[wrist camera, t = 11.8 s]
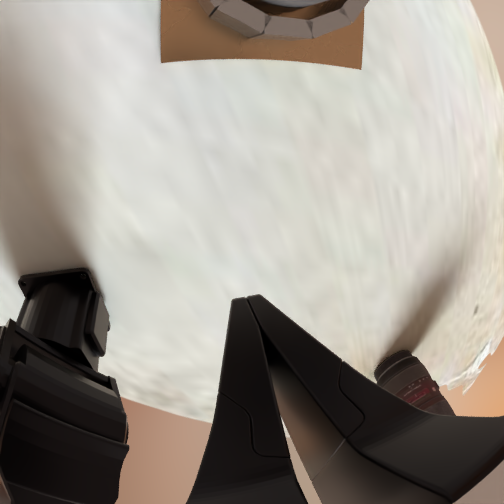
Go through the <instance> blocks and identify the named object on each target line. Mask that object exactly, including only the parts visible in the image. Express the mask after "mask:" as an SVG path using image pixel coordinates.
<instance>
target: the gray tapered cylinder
mask: <svg viewBox="0 0 504 504" xmlns="http://www.w3.org/2000/svg"><path fill="white" fill-rule="evenodd" d="M242 1H244V2H246V3H248V4H249V5H251V6H253V7H255V8H257V9H258V10H262V11H266V12H272V13H286V12H292V11H296V10H299V9H302V8H305V7H308V6H311V5H314V4H318V3H321V2H324V1H328V0H242Z"/></svg>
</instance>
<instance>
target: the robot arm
mask: <svg viewBox="0 0 504 504" xmlns="http://www.w3.org/2000/svg"><path fill="white" fill-rule="evenodd" d="M82 274H85V275H86V276H83V275H82ZM24 282H25V283H24ZM18 284H19V286H20V288H21V290H22V292H23V294H24V296H25V300H24V303H23V305H22V308H21V311H20V313H19V316H18V319H17V321H16V322H15V321H13V320H12V319H11V318H10V319H9V320H8V322H7V324H6V325H5V326H0V504H115V502H116V500H117V499H118V492H119V479H120V472H121V468H122V465H123V461H124V459H125V457H126V454H127V453H128V451H129V445H127V444H126V443H127V439H128V422H127V416H126V413H125V412H124V408H123V405H122V402H121V398H120V394H119V391H118V387H117V383H116V380H115V379H114V378H112V377H110V376H105V375H103V374H101V373H99V372H98V362H99V357H103V356H104V355H105V352H106V341H107V331H109V330H110V322H109V314H108V311H107V309H106V306H105V304H104V301H103V299H102V296H101V294H100V293H99V292H98V291H97V290H96V288H95V285H94V282H93V279H92V277H91V274H90V272H89V270H88V269H86V268H76V269H69V270H61V271H54V272H46V273H39V274H31V275H24V276H21V277H20V279H19V281H18ZM280 415H281V416H280ZM281 417H282V419H283V421H284V424H285V426H286V428H287V430H288V433H289V435H290V437H291V439H292V441H293V443H294V445H295V447H296V450H297V452H298V454H299V456H300V459H301V461H302V463H303V465H304V467H305V469H306V471H307V473H308V475H309V478H310V480H311V481H312V484H313V486H314V488H315V490H316V492H317V494H318V496H319V498H320V500H321V502H322V504H504V416H500V417H468V416H450V415H438V414H433V413H429V412H426V411H423V410H421V409H419V408H417V407H415V406H413V405H411V404H410V403H408V402H406V401H404V400H403V399H401V398H399V397H397V396H396V395H394V394H392V393H390V392H389V391H387V390H385V389H384V388H382V387H380V386H379V385H377V384H376V383H374V382H372V381H371V380H369V379H368V378H366V377H365V376H363V375H362V374H361V373H359V372H358V371H357V370H355V369H354V368H352V367H351V366H350V365H349V364H347V363H346V362H345V361H343V362H342V359H341V358H339V357H338V356H337V355H336V354H334V353H333V352H332V351H330V350H329V349H328V348H327V347H325V346H324V345H323V344H322V343H320V342H319V341H318V340H316V339H315V338H314V337H313V336H311V335H310V334H309V333H308V332H306V331H305V330H304V329H303V328H301V327H300V326H299V325H298V324H296V323H295V322H294V321H293V320H291V319H290V318H289V317H288V316H286V315H285V314H284V313H283V312H281V311H280V310H279V309H278V308H276V307H275V306H274V305H273V304H271V303H270V302H269V301H268V300H267V299H265V298H264V297H263V296H262V295H260V294H257V295H252V296H248V297H247V298H245V297H241V298H235V299H233V300H232V301H231V308H230V314H229V321H228V328H227V334H226V341H225V348H224V355H223V362H222V368H221V375H220V382H219V389H218V395H217V402H216V408H215V414H214V419H213V424H212V428H211V431H210V435H209V439H208V443H207V446H206V449H205V452H204V455H203V458H202V462H201V465H200V468H199V471H198V474H197V478H196V481H195V483H194V486H193V489H192V491H191V494H190V496H189V498H188V500H187V502H186V504H308V502H307V500H306V498H305V496H304V494H303V492H302V489H301V487H300V485H299V483H298V481H297V478H296V475H295V472H294V469H293V465H292V462H291V459H290V453H289V449H288V445H287V441H286V437H285V432H284V428H283V424H282V420H281Z"/></svg>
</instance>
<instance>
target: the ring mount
mask: <svg viewBox="0 0 504 504" xmlns="http://www.w3.org/2000/svg"><path fill="white" fill-rule="evenodd" d="M368 1H369V0H328V1H324V2H321V3H318V4H314V5H311V6H308V7H305V8H302V9H299V10H296V11H292V12H286V13H272V12H266V11H262V10H258V9H257V8H255V7H253V6H251V5H249V4H248V3H246V2H244V1H242V0H161V63H166V62H177V61H190V60H208V59H267V60H285V61H298V62H309V63H318V64H326V65H334V66H341V67H347V68H353V69H360V70H361V66H362V51H363V31H364V7H365V6H366V4H367V3H368Z"/></svg>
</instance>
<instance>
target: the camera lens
mask: <svg viewBox="0 0 504 504" xmlns="http://www.w3.org/2000/svg"><path fill="white" fill-rule="evenodd" d="M374 377H375V379H376V381H377V385H379V386H380V387H382V388H384V389H385V390H387V391H389V392H390V393H392V394H394V395H396V396H397V397H399V398H401V399H403V400H404V401H406V402H408V403H410V404H411V405H413V406H415V407H417V408H419V409H421V410H423V411H426V412H429V413H433V414H438V415H450V416H456V415H455V414H454V412H453V410H452V408H451V407H450V405H449V403H448V402H447V400H446V399H445V398H444V396H442V395H441V393H440V391H439V386H438V384H437V383H436V381H433V380H432V378H431V376H430V374H429V373H428V371H427V369H426V368H425V366H424V365H423V364H422V363H421V362H420V361H419V359H418V358H417V357H415V356H412V354H411V353H410V352H409V351H407V350H405V351H401V352H398V353H396V354H394V355H392V356H391V357H389V358H388V359H387V360H385V361H384V362H383V363H382V364H381V365H380V366H379V367H378V368H377V369H376V371H375V373H374Z"/></svg>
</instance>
